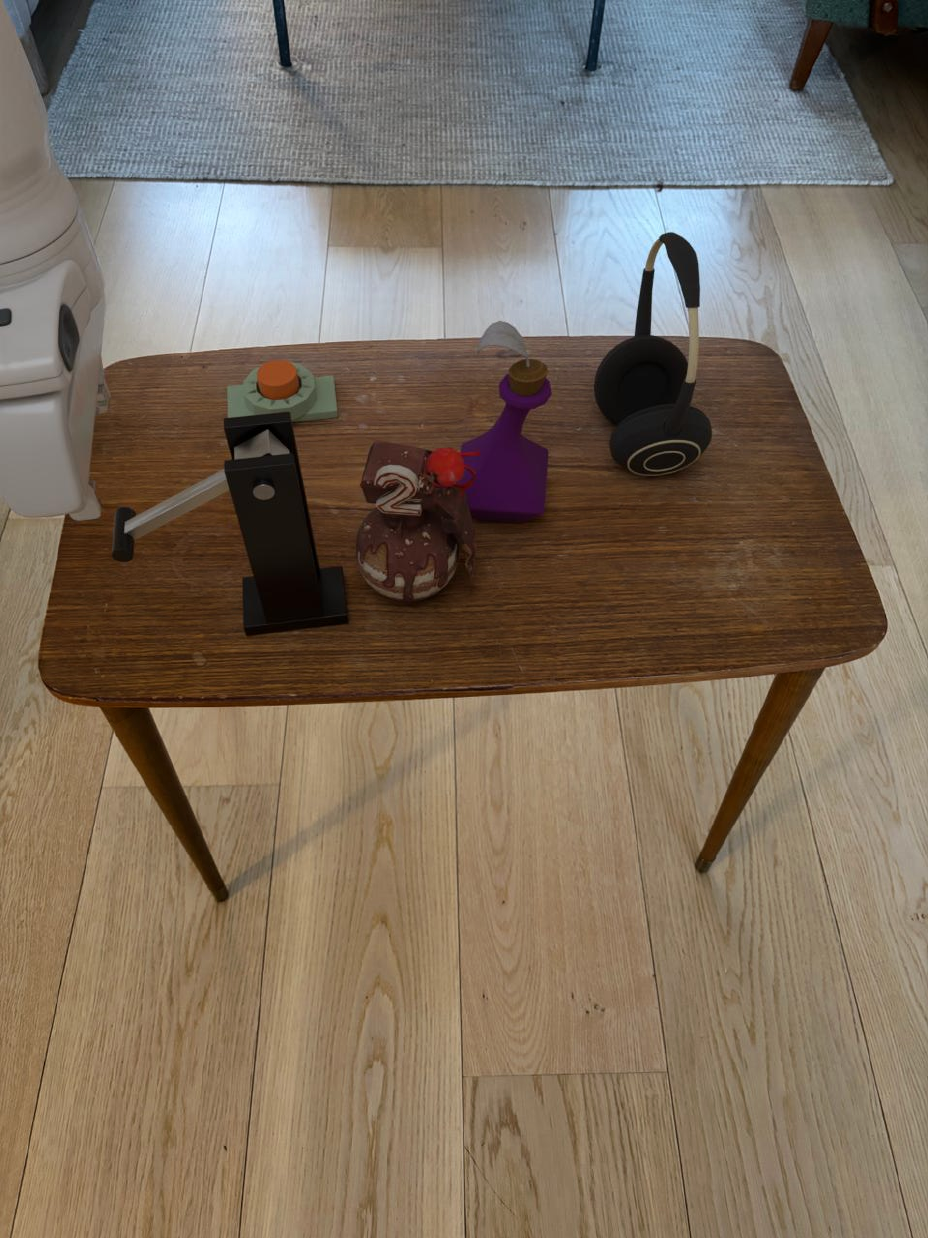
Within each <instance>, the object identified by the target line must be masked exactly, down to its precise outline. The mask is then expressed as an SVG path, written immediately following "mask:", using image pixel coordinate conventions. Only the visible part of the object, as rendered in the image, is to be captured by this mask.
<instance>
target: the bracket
mask: <svg viewBox="0 0 928 1238" xmlns="http://www.w3.org/2000/svg"><path fill="white" fill-rule="evenodd" d="M267 429H268V430H269V431H270V432H271V433H272V434H273V435H274V436H275V437H276V438H277V439H278V440H279V441H280V442H281V443H282V444H283V445H284V446H285V447H286V448H287V449H288V450H289V453H290V454H281V455H271V456H262V457H253V458H243V459H235V457H234V448H235V447H236V446H238V445H240V444H242V443H243V442H245V441H247V440H249V439H251V438H253V437H254V436H256V435H258V434H260V433H262V432H264V431H265V430H267ZM223 431H224V434H225V438H226V442H227V446H228V449H229V454H230V456H231V457H230V458H231V459H227V460H224V461H223V469H224V472H225V476H226V479H227V483H228V486H229V493H230V497H231V500H232V504H233V508H234V512H235V514H236V518H237V519H236V520H237V522H238V525H239V529H240V533H241V536H242V540H243V544H244V548H245V550H246V551H245V552H246V554H247V559H248V562H249V565H250V569H251V572H252V576H244V577H242V578H241V584H242V585H241V586H242V621H243V623H242V624H243V625H242V626H243V627H242V628H243V630H244V633H245V636H246V637H250V636H257V635H259V636H260V635H266V634H274V633H282V632H290V631H299V630H306V629H314V628H315V629H316V628H322V627H324V628H325V627H331V626H338V625H339V626H340V625H347V624H349V613H348V605H347V603H348V602H347V592H346V584H345V574H344V568H343V565H338V566H329V567H320V562H319V557H318V552H317V547H316V541H315V537H314V530H313V525H312V520H311V515H310V509H309V504H308V499H307V494H306V493H307V492H306V489H305V483H304V478H303V473H302V467H301V462H300V457H299V451H298V446H297V440H296V436H295V435H296V434H295V431H294V425H293V422H292V419H291V414H290V412H289V411H288V412H279V413H269V414H259V415H250V416H240V417H231V418H228V417H224V418H223Z"/></svg>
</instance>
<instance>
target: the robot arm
mask: <svg viewBox="0 0 928 1238" xmlns="http://www.w3.org/2000/svg"><path fill="white" fill-rule="evenodd" d="M50 135H51V134H50V121H49V115H48V111H47V108H46V105H45V102H44V99H43V97H42V94H41V91H40V88H39V86H38V82H37V79H36V77H35V75H34V72H33V69H32V67H31V64H30V61H29V59H28V57H27V54H26V52H25V49H24V46H23V44H22V41H21V39H20V37H19V34H18V32H17V30H16V27H15V25H14V23H13V20H12V18H11V16H10V13H9V11H8V9H7V7H6V5H5V2H4V0H0V497H1V499H2V500H3V501H4V503H5V504H6V505H7V507H8V508H9V509H10V510H11V511H12V512H13V513H14V514H16V515H17V516H21V517H23V518H27V519H39V518H54V517H59V516H66V515H69V517H70V518H71V519H72V520H74V521H77V522H81V521H88V520H90V521H91V520H96V519H99V518H100V517H101V512H102V503H103V502H102V501H103V500H102V499H103V497H102V494H101V493H100V490H99V487H98V485H97V482H96V481H95V480H92V481H90V474H91V473H90V471H91V464H92V463H91V461H92V452H93V443H94V442H93V441H94V431H95V421H96V415H101V416H102V415H107V414H108V413H109V412H110V407H111V399H112V398H111V397H112V395H111V391H110V389H109V386H108V384H107V381H106V379H105V370H104V363H103V358H102V357H103V356H102V351H103V340H104V328H105V318H106V312H107V311H106V310H107V300H106V293H105V287H106V279H105V273H104V270H103V267H102V265H101V262H100V259H99V256H98V254H97V253H98V252H97V250H96V248H95V245H94V242H93V239H92V236H91V234H90V230H89V228H88V224H87V222H86V219H85V216H84V213H83V210H82V207H81V205H80V202H79V200H78V195H77V193H76V191H75V189H74V187H73V185H72V183H71V181H70V180H69V178H68V177H67V176H66V174H65V173H64V171H63V170H62V168H61V167H60V166H59V164H58V162H57V160H56V158H55V155H54V152H53V149H52V143H51V137H50Z"/></svg>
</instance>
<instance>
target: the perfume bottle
mask: <svg viewBox="0 0 928 1238" xmlns="http://www.w3.org/2000/svg"><path fill="white" fill-rule="evenodd" d="M488 346H498V347H502V348H506V349H509V350H511V351H513V352H515V353H517V354H519V355H521V356H523V357H525V358H524V359H521V360H520V359H519V361H516V362H514V363H513V364H511V366H510V367H509V369H508V373H506V374H505V375H504V376H503V378H502V379H501V381H500V382H499V384H498V392H499V397H500V398H501V399H502V401H504V403H505V405H504V407H503V409H502V411H501V412H500V415H499V416H498V418H497V419H496V421H495V422H494V424H493V425H492V426H491V427H490V428H489V429H488V430H487V431H485V432H483V433H481V434H480V435H478V436H476V437H474V438H471V439H470V440H468V441H465V442H463V443H461V446H460V452H463V453H464V452H476V451H480V450H481V453H480V454H479V455H476V456H464V457H463V456H461V457H462V459H463V462H464V464H465V465H467V466H469V467H471V468H472V469H473V470H474V471H475V473H476V475H475V480H474V482H473V483H472V485H471V487H470V488H467V489H465V490H464V491H465V494H466V498H467V502H468V506H469V510H470V514H471V517H472V520H475V521H477V522H478V521H480V522H494V523H507V524H520V525H521V524H524V523H527V522H529V521H531V520H533V519H536V518H538V517H540V516H543V515H544V513H545V511H546V497H547V496H546V494H547V481H548V468H549V467H548V466H549V449H548V448H547V447H544V446H543V445H540V444H538V443H536V442H534V441H533V440H530V439H529V438H527V437H526V436H524V435H523V434H522V430H523V425H524V423H525V420H526V418H527V416H528V414H529V413H530V411H531V410H535V409H537V408H539V407H541V406H543V405H546V404H547V402H548V401H549V399H550V398H551V396H552V394H553V392H552V387H551V380H549V379H548V378H547V376H548V373H549V367H548V365H547V364H545V363H544V362H542V361H541V360H539V359H535V358H529V356H528V352H527V349H526V345H525V341H524V338H523V335H522V334H521V333H520V332H519V330H518V329H517V328H516V327H515V326H513V324H511V323H509V322H507V321H503V320H498V321H496V322H492V323H491V324H490V325H488V327H487V328H486V329H485V331H484V332H483V335H482V336H481V337H480V339H479V340H478V343H477V345H476V347H477V348H476V349H477V355H479V354H480V351H481V350H483V349H484V348H486V347H488ZM472 477H473V476H472V474H471V473H470V471H468V470H467V469H464V476H463V477H462V478H461V479H460V480H459V481H458V482H456V483H455V484H463V483H467V482H469V481H470V480H471V479H472Z"/></svg>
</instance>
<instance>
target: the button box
mask: <svg viewBox="0 0 928 1238" xmlns="http://www.w3.org/2000/svg"><path fill="white" fill-rule="evenodd" d="M287 361H288V362H290V363H292V364H293V365H294V366H295V368H296V370H297V376H298V381H299V389H298V391H297V392H296V394H295V395H293V396H291V397H289V398H287V399H282V400H270V399H268V398H266V397H264V396H263V395H262V394H261V392H260V388H259V384H258V379H257V371H258V369H259V368H260V367H261V366H259V367H257V368H254V369H253V370H251V371H250V373H249V374H248V375H247V376H246V378H245V379H244V380H243V382H242V384H235V385H227V387H226V393H227V394H226V395H227V397H226V398H227V400H226V401H227V418H231V417H240V416H250V415H259V414H269V413H279V412H288V411H289V412H290V414H291V419H292V423H298V422H307V421H308V422H309V421H317V420H326V419H337V418H339V410H338V402H337V394H336V384H335V377H334V375H332V374H331V375H324V376H315V375H314V374H313V373H312V372H311V371H310V370H309V369H308V368H307V367H306V366H305V365H303V364H300V363H298V362H297V363H296V362H292V361H289V360H287Z"/></svg>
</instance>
